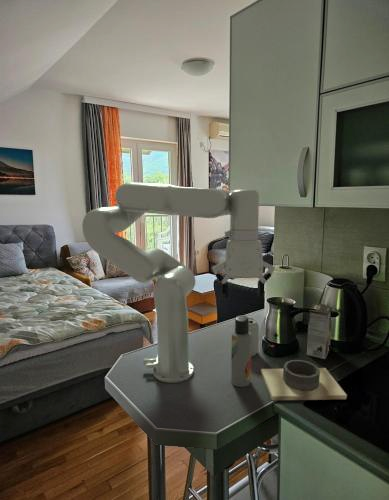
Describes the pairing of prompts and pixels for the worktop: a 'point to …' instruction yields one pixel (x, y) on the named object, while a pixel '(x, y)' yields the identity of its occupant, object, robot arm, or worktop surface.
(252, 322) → the can
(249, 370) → the lotion bottle
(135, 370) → the worktop surface
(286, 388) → the bottle holder
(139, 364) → the worktop surface
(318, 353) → the coffee box
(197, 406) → the worktop surface
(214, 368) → the worktop surface
